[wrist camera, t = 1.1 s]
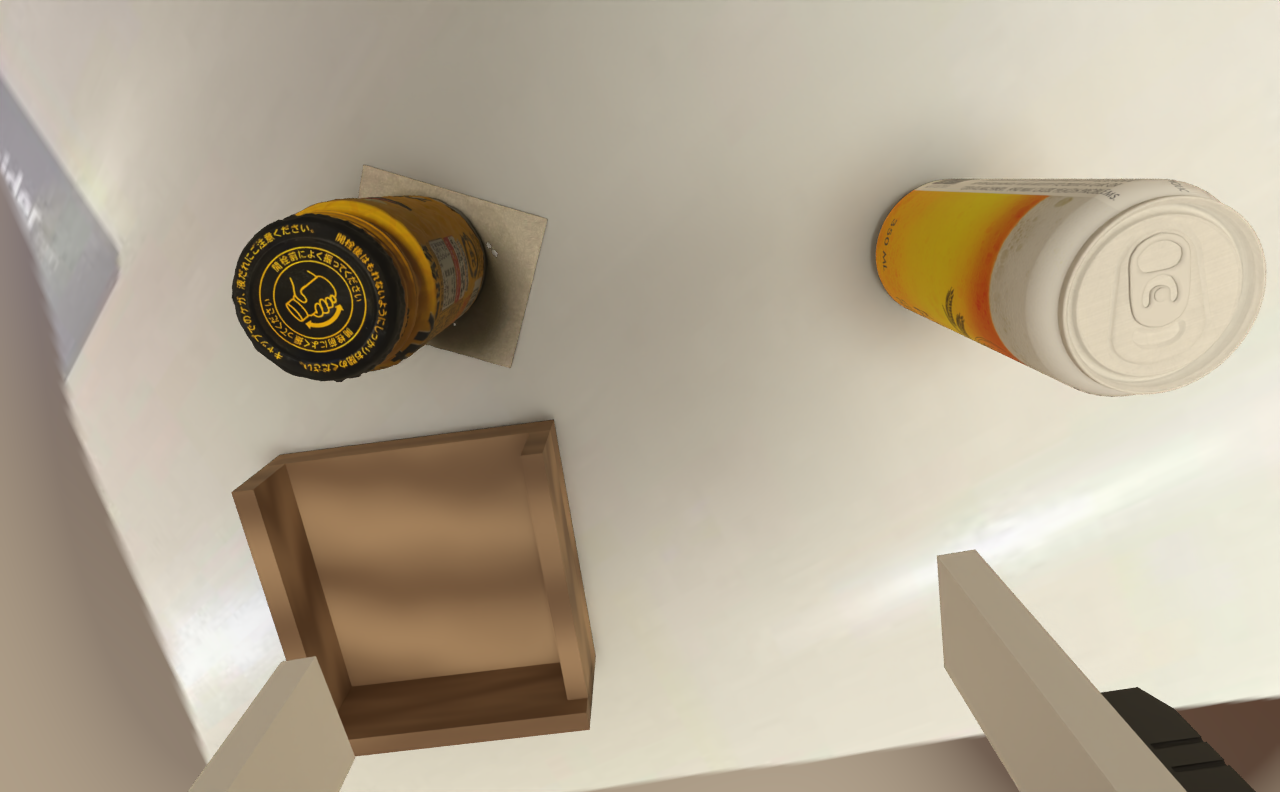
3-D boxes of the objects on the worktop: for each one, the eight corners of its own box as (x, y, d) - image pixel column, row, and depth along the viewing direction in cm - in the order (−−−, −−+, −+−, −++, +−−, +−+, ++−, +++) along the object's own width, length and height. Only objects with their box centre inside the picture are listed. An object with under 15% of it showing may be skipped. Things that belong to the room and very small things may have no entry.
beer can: (878, 323, 34) (1054, 428, 20) (862, 195, 32) (1042, 208, 18) (1005, 296, 34) (1277, 383, 19) (996, 165, 32) (1287, 154, 18)
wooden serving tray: (279, 455, 36) (218, 502, 31) (553, 419, 35) (539, 461, 30) (348, 685, 40) (305, 761, 35) (595, 656, 40) (589, 729, 34)
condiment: (364, 164, 32) (213, 156, 20) (548, 218, 33) (501, 240, 21) (338, 318, 34) (187, 389, 23) (511, 366, 35) (450, 458, 23)
